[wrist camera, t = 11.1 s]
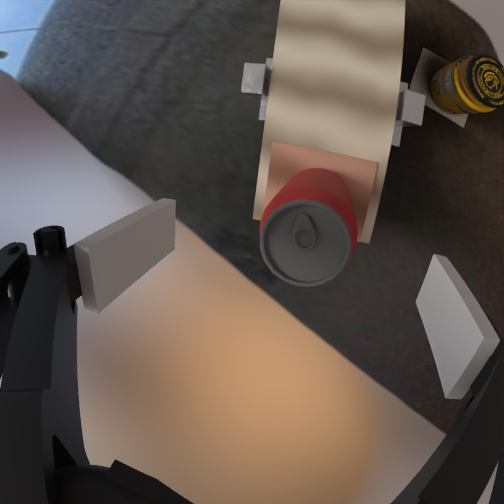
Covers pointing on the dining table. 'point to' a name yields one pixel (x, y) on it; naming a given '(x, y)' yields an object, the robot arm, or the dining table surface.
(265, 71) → the pivot stand
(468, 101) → the condiment
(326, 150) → the balance beam
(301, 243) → the beer can
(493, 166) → the dining table surface
